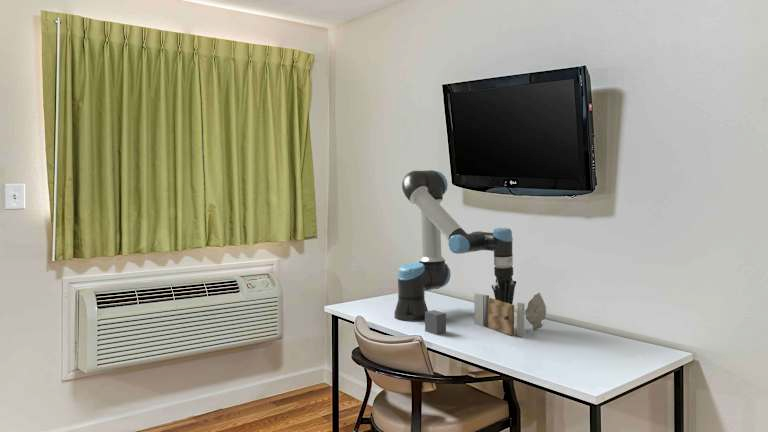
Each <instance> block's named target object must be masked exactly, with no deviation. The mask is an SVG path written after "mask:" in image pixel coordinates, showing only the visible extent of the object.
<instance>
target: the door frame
mask: <svg viewBox="0 0 768 432" xmlns="http://www.w3.org/2000/svg"><path fill="white" fill-rule="evenodd" d="M488 298H490V295H487V294H482V293H478V292H476V293H474V309H473V310H474V311H473V313H474V317H473V318H474V324H475V325H477V326H480V327H484V328H489V327H488ZM516 305H517V308H516V309H517V310H516V337H519V338H524V337H525V310H526V309H525V308H526V307H525V303H523V302H517V304H516Z"/></svg>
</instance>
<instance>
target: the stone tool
mask: <svg viewBox="0 0 768 432" xmlns="http://www.w3.org/2000/svg"><path fill="white" fill-rule="evenodd" d="M524 314H525V319H526V321H528V323H529V324H531V326H532V330H533V331H537V330H539V329H540V328H542V327H543V326H544V324H543V322H542V321H543V320H545V318H546V316H547V306H546V304H545V302H544V299H543V297H542V295H541V293H540V292H537V293H536V294H534V295H533V297H532V299H530V300H529V301H528V303H527V307H526V309H524Z"/></svg>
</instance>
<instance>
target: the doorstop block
mask: <svg viewBox="0 0 768 432" xmlns="http://www.w3.org/2000/svg"><path fill="white" fill-rule="evenodd" d="M424 332H426V333H429V334H433V335H435V336H438V335H442V334H446V333H447V313H446V312H443V311H440V310H436V309H435V310H434V309H433V310H428V311H427V312H425V319H424Z"/></svg>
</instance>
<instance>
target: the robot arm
mask: <svg viewBox="0 0 768 432" xmlns="http://www.w3.org/2000/svg"><path fill="white" fill-rule="evenodd" d="M401 188H402V192H403V194H404V196H405V197H406V199H407V200H408V201H409V203H411V204H413V205H416V206H417V207H418V209H419V210H420V215H421V217H420V218H421V222H420V226H421V249H422V257H420V258H419V262H412V263H411V262H409V263H404V264H401V265H400V266H399V268H398V272H397V292H398V294H397V296H398V297H397V298H398V299H397V303H396V307H395V309H394V314H393V315H394V318H395V319H396V320H400V321H409V322H415V321H416V322H417V321H423V320H424V321H425V312H427V311H429V310H428V306H427V303H426V299H425V292H426V291H432V290H439V289H441V288H443V287H446V286H447V284H448V283H449V281H450V279H451V269H450V267H449V265H448V264H447V263H446V260H445V258H444V257H443V256H442V237H441V236H442V235H443V236H444V237H445V238H446V240H447V241H448V244H447V245H448V247H449V248H448V249H449V250H450V251H451V252H452V253H453V254H456V255H457V254H459V255H461V254H467V253H473V252H479V251H491V252H493V265H494V269H493V270H494V276H495V284H491V289H492V291H493V294H494V295H493V296H494V299H496V300H499V301H502V302H506V303H509V304H512V305H514V304H513V303H514V295H515V289H516V285H517V281H516V280H513V276H514V267H513V265H514V263H513V262H514V261H513V260H514V259H513V257H514V255H513V241H514V238H513V230H511V229H510V228H507V227H497V228H494V229H493V231H492V232H487V231H481V230H479V231H472V232H471V233H467V232H466V231H465V230H464V229H463V227H461V225H459V224H458V222H457V221H456V220H455V219H454V218H453V217H452V216H451V214H449V213H448V211H446V209H445V208H444V207H443V206H442V205H441V202H443V201H444V198H443V197H444V195H445V194H446V192H447V190H448V180H447V178H446V176H445V175H444V174H443V173H442V172H441V171H438V170H433V169H430V170H412V171H409V172H408V173H407V174H406V175H405V176H404V177H403V180H402V182H401ZM441 234H442V235H441Z"/></svg>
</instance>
